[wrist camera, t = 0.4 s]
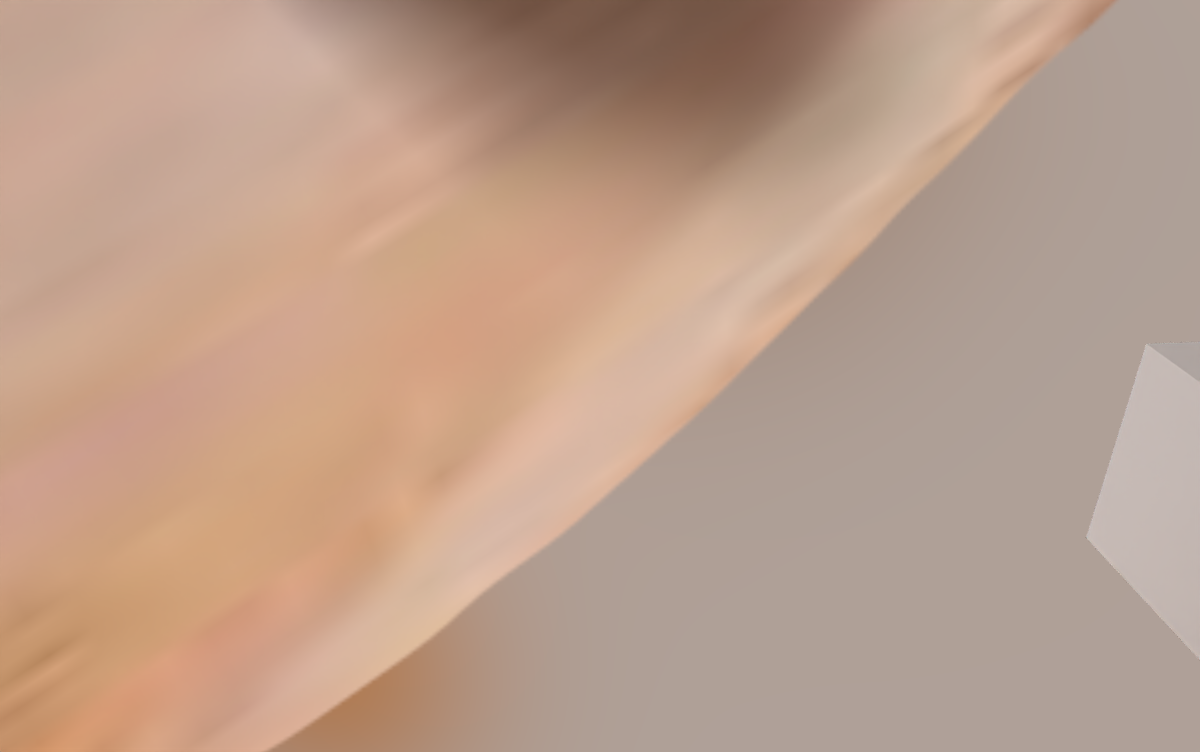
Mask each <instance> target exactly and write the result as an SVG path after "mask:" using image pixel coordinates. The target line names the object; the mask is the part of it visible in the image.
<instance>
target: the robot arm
mask: <svg viewBox="0 0 1200 752" xmlns="http://www.w3.org/2000/svg"><path fill="white" fill-rule="evenodd" d="M1086 538H1087V539H1088V540H1089V541H1090V543H1091V544H1092V545H1093V546H1094V547H1095V548H1096V549H1097V550H1098V551H1099V552H1100V553H1101V554H1102V555H1103V557H1105V559H1106V560H1107V561H1108V562H1109V563H1110V564H1111V565H1112V566H1113V567H1114V568H1115V570H1116V571H1117V572H1118V573H1119V574H1120V575H1121V576H1122V577H1123V578H1124V579H1125V580H1126V581H1127V582H1128V584H1129V585H1130V586H1131V587H1132V588H1133V589H1134V590H1135V591H1136V592H1137V593H1138V594H1139V595H1140V596H1141V598H1142V599H1143V600H1144V601H1145V602H1146V603H1147V604H1148V605H1149V606H1150V607H1151V608H1152V609H1153V610H1154V611H1155V612H1156V614H1157V615H1158V616H1159V617H1160V618H1161V619H1162V620H1163V621H1164V622H1165V623H1166V624H1167V625H1168V627H1170V629H1171V630H1172V631H1173V632H1174V633H1175V634H1176V635H1177V636H1178V637H1179V638H1180V640H1182V642H1183V643H1184V644H1185V645H1186V646H1187V647H1188V648H1189V649H1190V650H1191V651H1192V652H1193V653H1194V655H1195V656H1196V657H1197V658H1198V659H1199V660H1200V342H1179V343H1151V344H1146V346H1145V349H1144V353H1143V356H1142V359H1141V362H1140V366H1139V369H1138V372H1137V375H1136V378H1135V382H1134V385H1133V388H1132V391H1131V395H1130V398H1129V401H1128V404H1127V407H1126V411H1125V414H1124V417H1123V420H1122V423H1121V427H1120V430H1119V433H1118V436H1117V440H1116V443H1115V446H1114V450H1113V452H1112V456H1111V459H1110V462H1109V465H1108V469H1107V472H1106V475H1105V478H1104V481H1103V485H1102V488H1101V491H1100V494H1099V498H1098V501H1097V504H1096V507H1095V510H1094V514H1093V517H1092V520H1091V524H1090V527H1089V530H1088V533H1087V536H1086Z"/></svg>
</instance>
